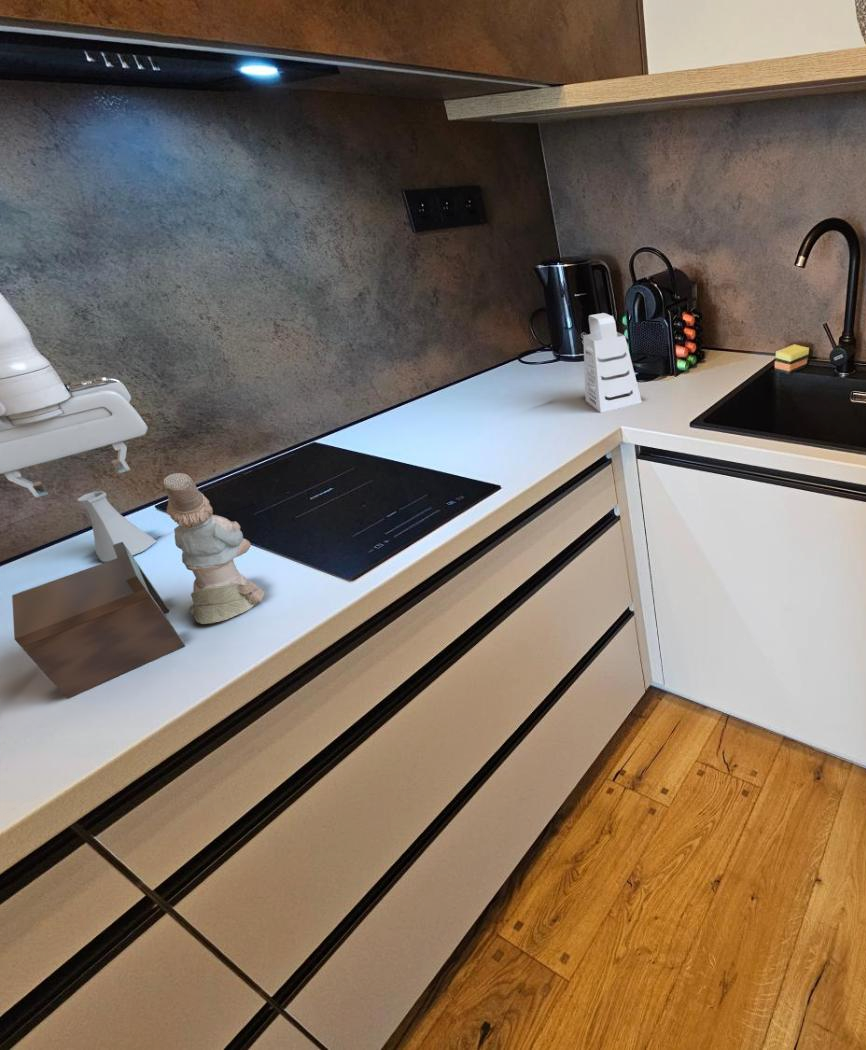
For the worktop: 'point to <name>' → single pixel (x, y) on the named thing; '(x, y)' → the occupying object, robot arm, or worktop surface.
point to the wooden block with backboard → (94, 624)
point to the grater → (608, 366)
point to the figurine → (209, 553)
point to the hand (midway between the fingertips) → (84, 482)
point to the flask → (112, 528)
